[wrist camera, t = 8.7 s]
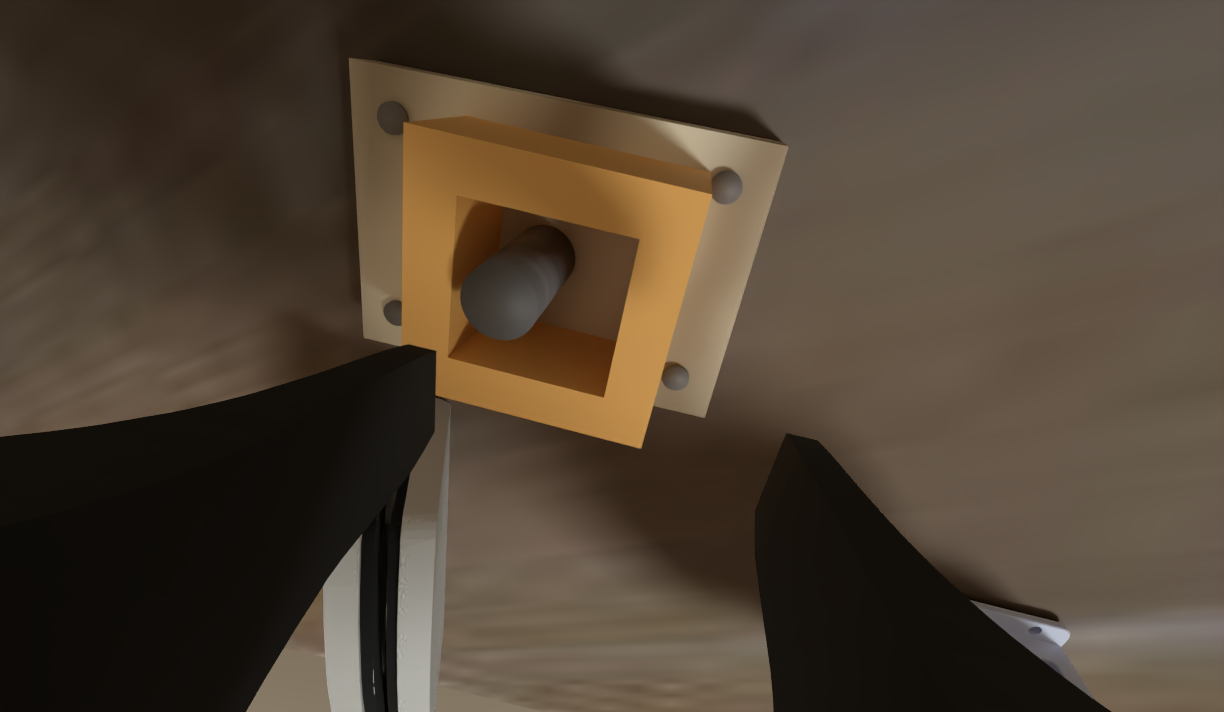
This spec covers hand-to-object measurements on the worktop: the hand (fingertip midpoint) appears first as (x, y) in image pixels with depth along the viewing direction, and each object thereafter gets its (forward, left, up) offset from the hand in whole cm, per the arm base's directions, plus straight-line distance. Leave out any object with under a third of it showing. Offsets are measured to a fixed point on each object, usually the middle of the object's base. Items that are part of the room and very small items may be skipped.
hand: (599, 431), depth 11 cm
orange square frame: (+3, 0, -9) cm, 9 cm away
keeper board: (+4, 0, -10) cm, 11 cm away
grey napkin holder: (+9, +16, -11) cm, 21 cm away
